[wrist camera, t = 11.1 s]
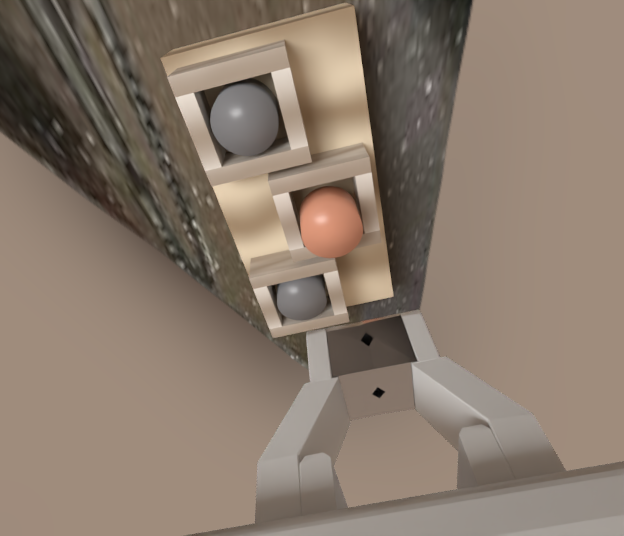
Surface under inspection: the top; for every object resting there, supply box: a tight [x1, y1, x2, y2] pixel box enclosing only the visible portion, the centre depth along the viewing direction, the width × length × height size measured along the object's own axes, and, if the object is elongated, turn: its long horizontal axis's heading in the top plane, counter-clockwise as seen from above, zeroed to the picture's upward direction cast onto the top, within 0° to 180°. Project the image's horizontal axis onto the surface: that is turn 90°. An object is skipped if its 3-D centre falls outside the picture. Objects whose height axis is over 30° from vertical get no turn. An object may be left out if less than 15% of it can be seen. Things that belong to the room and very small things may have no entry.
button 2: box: [277, 274, 327, 321], centre depth 37 cm, size 4×4×3 cm
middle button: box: [299, 186, 363, 258], centre depth 30 cm, size 4×4×3 cm
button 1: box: [210, 78, 279, 156], centre depth 27 cm, size 4×4×3 cm
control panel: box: [161, 3, 393, 338], centre depth 34 cm, size 25×13×7 cm, turn 13°
